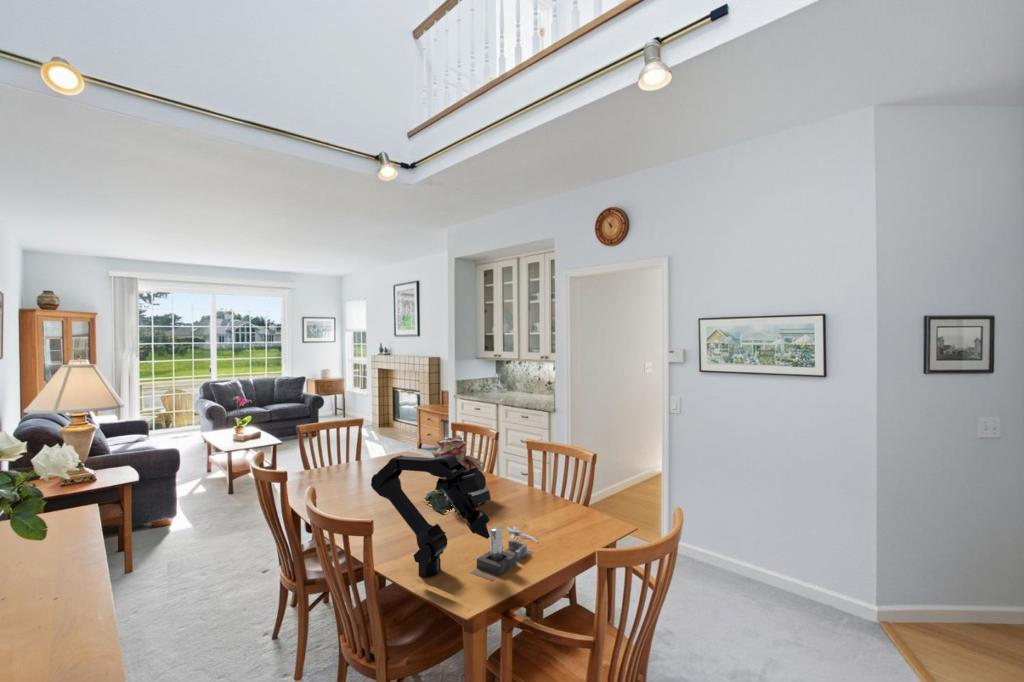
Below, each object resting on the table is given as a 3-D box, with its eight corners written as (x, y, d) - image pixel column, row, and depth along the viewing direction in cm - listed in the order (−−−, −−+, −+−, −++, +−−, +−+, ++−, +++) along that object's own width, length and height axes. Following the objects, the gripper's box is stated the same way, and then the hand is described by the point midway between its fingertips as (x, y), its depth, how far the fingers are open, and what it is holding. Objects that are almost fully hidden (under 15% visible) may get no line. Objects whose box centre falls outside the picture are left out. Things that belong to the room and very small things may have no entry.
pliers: (513, 544, 167) (498, 528, 181) (513, 548, 167) (498, 532, 181) (538, 539, 171) (521, 524, 185) (538, 543, 171) (521, 528, 185)
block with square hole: (492, 586, 141) (492, 571, 141) (469, 577, 146) (469, 563, 146) (533, 556, 160) (533, 543, 160) (512, 549, 165) (512, 537, 165)
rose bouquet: (447, 518, 194) (446, 446, 194) (416, 499, 218) (416, 435, 218) (498, 505, 209) (497, 438, 209) (464, 488, 233) (464, 428, 233)
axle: (497, 570, 148) (497, 532, 147) (487, 567, 150) (487, 529, 150) (505, 565, 151) (505, 528, 151) (495, 562, 153) (495, 525, 153)
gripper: (489, 488, 138) (515, 526, 142) (468, 468, 154) (492, 502, 159) (459, 513, 134) (486, 552, 139) (441, 490, 151) (465, 524, 156)
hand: (483, 531), depth 148 cm, fingers open, 9 cm apart
